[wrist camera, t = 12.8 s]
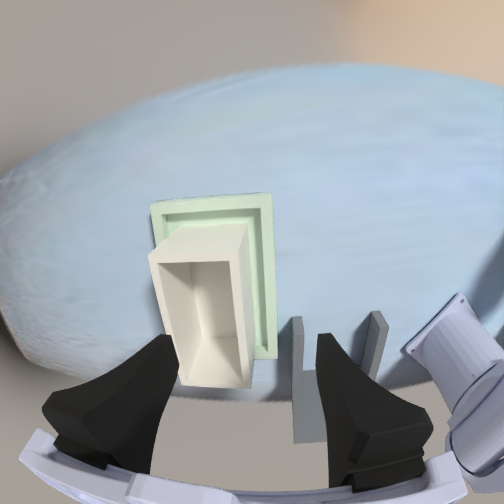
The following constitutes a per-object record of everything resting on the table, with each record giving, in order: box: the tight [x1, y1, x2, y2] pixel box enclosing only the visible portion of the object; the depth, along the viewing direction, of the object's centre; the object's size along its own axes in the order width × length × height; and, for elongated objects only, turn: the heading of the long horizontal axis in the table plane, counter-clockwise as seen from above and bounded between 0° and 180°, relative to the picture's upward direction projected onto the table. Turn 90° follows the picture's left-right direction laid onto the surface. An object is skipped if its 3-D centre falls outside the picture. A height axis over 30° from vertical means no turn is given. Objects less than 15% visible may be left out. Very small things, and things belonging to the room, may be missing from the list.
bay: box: [291, 311, 389, 444], centre depth 20 cm, size 7×8×8 cm
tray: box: [150, 192, 278, 359], centre depth 21 cm, size 14×9×2 cm, turn 4°
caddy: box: [148, 222, 256, 389], centre depth 19 cm, size 10×5×6 cm, turn 4°
